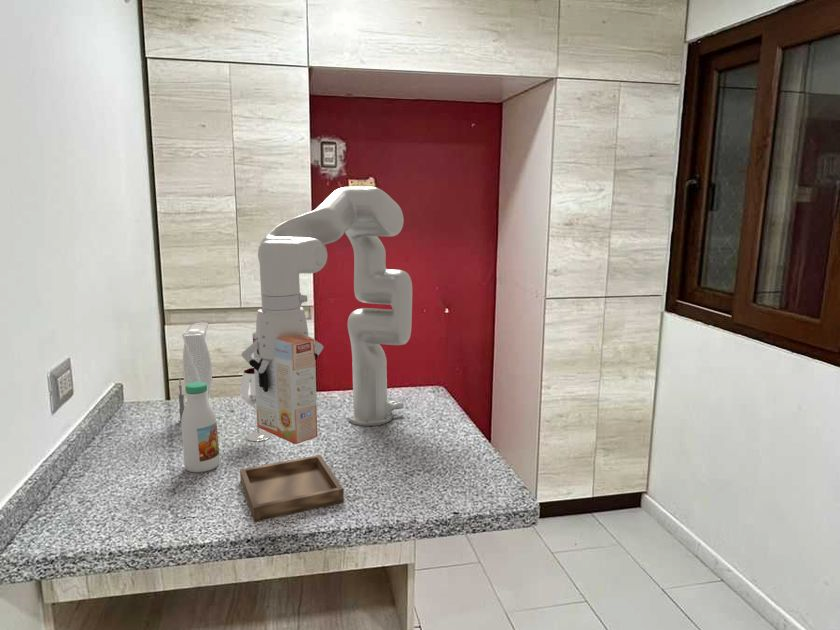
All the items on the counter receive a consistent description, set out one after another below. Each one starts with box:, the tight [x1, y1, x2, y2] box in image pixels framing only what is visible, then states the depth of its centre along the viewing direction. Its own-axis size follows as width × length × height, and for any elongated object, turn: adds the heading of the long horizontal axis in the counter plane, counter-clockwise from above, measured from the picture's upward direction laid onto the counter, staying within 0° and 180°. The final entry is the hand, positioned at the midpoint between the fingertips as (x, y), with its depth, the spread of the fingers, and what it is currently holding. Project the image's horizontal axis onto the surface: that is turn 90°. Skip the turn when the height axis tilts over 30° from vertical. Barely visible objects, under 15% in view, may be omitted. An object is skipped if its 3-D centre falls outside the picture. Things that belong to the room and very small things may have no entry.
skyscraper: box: [178, 321, 213, 423], centre depth 164 cm, size 8×8×28 cm
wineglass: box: [239, 367, 272, 442], centre depth 153 cm, size 8×8×18 cm
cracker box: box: [252, 331, 319, 445], centre depth 121 cm, size 14×6×21 cm, turn 47°
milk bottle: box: [180, 382, 221, 473], centre depth 136 cm, size 8×8×20 cm
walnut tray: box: [239, 454, 345, 523], centre depth 126 cm, size 18×18×3 cm
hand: (285, 386), depth 121 cm, fingers closed on cracker box, 7 cm apart
